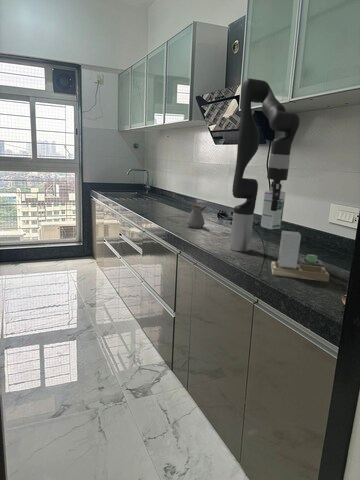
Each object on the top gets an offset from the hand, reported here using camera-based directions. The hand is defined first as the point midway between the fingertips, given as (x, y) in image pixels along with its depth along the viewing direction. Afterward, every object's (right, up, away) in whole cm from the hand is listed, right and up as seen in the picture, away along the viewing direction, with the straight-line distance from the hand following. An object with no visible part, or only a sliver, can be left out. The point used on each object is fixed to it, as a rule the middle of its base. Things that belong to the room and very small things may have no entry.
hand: (272, 209), depth 138 cm
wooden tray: (+7, -26, -9) cm, 28 cm away
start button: (+15, -22, +1) cm, 27 cm away
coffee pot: (-26, -5, +75) cm, 80 cm away
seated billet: (+3, -24, -8) cm, 26 cm away
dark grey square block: (+15, -24, +1) cm, 28 cm away
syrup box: (-1, -7, +2) cm, 8 cm away
